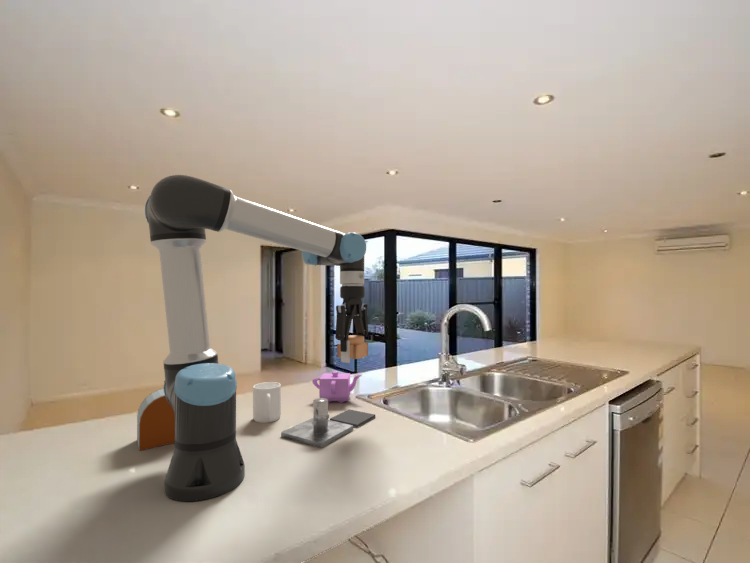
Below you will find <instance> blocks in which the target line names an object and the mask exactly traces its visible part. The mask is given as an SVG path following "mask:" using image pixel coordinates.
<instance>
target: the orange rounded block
mask: <svg viewBox="0 0 750 563" xmlns="http://www.w3.org/2000/svg"><path fill="white" fill-rule="evenodd" d="M136 420H137V421H136V423H137V424H136V441H137V446H138V451H143V450H148V449H153V448H157V447H162V446H166V445H171V444H175V412H174V410H173V408H172V407H171V405H170V404H169V403H168V401H167V399H166V397H165V394H164V387H163V388H160V389H157V390H155V391H152V392H151V393H149V394H148V395H147V396H146V397H145V398H144V399H143V400H142V402H141V403H140V405H139V407H138V410H137V414H136Z"/></svg>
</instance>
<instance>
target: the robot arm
mask: <svg viewBox="0 0 750 563" xmlns="http://www.w3.org/2000/svg"><path fill="white" fill-rule="evenodd" d="M233 192H234V191H232V189H230V188H227V187H224V186H221V185H218V184H215V183H213V182H209V181H208V180H204V179H201V178H198V177H194V176H191V175H187V174H186V175H184V174H172V175H169V176H166V177H163V178H161V179H160V180H159V181H158V182H156V183H155V185H154V186H153V188H152V190H151V193H150V195H149V197H147V200H146V203H145V208H144V216H145V219H146V221H147V222H146V223H147V224H148V229H149V238H150V244H151V245H152V246H153V247H155V248H156V249H157V250H158V251H159V252H158V253H159V261H160V271H161V279H162V290H163V297H164V298H163V299H164V301H163V302H164V309H165V318H166V328H167V338H168V345H169V354H168V355H167V356H165V358H164V360H163V362H162V363H163V370H164V372H163V373H164V379H165V380H163V382H164V384H163V388H164V394H165V397H166V399H167V401H168V403H169V404H170V405H171V407H172V408H173V410H174V412H175V443H174V449H173V452H172V453H173V454H172V456H171V459H170V462H169V465H168V469H167V473H166V475H165V477H164V493H165V496H167V497H168V498H169V499H172V500H174V501H179V502H195V501H196V502H197V501H198V502H199V501H203V500H209V499H212V498H213V499H214V498H215V497H218V496H221V495H223V494H226V493H228V492H230V491H232V490H233V489H235V488H236V487H237V486H239V485H240V484H241V483H242V481H243V480H244V479H245V474H246V473H245V472H246V471H245V465H246V464H245V461H244V459H243V455H242V451H241V450H240V448H239V444H238V441H237V388H238V381H237V378H236V371H235V370H234V369H233V367H231V366H229V365H226V364H220V363H219V355H218V351H216V350H215V349H213V348H212V347H211V344H210V335H209V325H208V316H207V315H208V314H207V305H206V304H207V303H206V297H205V296H206V295H205V286H204V285H205V284H204V275H203V274H204V273H203V266H202V265H203V264H202V255H201V248H202V247H203V245H204V244H206V243H207V239H206V238H207V237H206V230H211V231H214V232H218V233H220V232H223V231H224V230H228V231H232V232H235V233H238V234H241V235H244V236H249V237H253V238H256V239H258V240H259V239H260V240H262V241H266V242H270V243H273V244H277V245H280V246H284V247H287V248H291V249H293V250H294V249H295V250H298V251H301V258H302V260H303V262H304V263H305V264H306V265H311V266H315V267H316V266H336V267H337V266H338V267H339V284H340V285H341V286H340V288H339V297H340V299H342V304H340V305H338V304H337V305H336V306H335V309H336V321H335V322H336V323H335V334H334V337H335V339H336V340H337V341H340V342H339V343H340V346H341V347H340V350H341V357H340V363H346V364H350V363H351V359H350V341H347V340H348V336H349V334H350V330H351V325H352V320H353V322H354V327H355V333H356V335H360V336H364V338H367V337H368V335H369V322H368V306H369V305H368V303H363V301H362V299H364V298H365V294H366V293H365V286H364V284H365V254H366V252H367V243H366V240H365V238H364V236H362V235H361V234H360V233H357V232H346V233H345V232H342V231H339V230H335V229H332V228H329V227H326V226H324V225H320V224H317V223H314V222H311V221H308V220H306V219H302V218H301V217H297V216H294V215H291V214H288V213H285V212H283V211H279V210H277V209H275V208H271V207H267V206H265V205H262V204H259V203H256V202H253V201H250V200H248V199H245V198H241V197H238V196H236V195H235V194H234V193H233ZM359 359H362V360H363V359H365V357H361V358H359Z"/></svg>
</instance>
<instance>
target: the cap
mask: <svg viewBox="0 0 750 563" xmlns="http://www.w3.org/2000/svg"><path fill="white" fill-rule="evenodd" d="M347 341H350V360H357V359H360V358H361V357H364V358H365V357H369V342H365V337H364V336H360V335H357V334H352V335H351V334H350V335H349V336H348V340H347ZM336 345H337V346H336V347H337V348H336V350H337V351H336V353H337V354H336V356H337V357H336V358H341V350H340V347H341V346H340V342H339V343H337V344H336Z"/></svg>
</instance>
